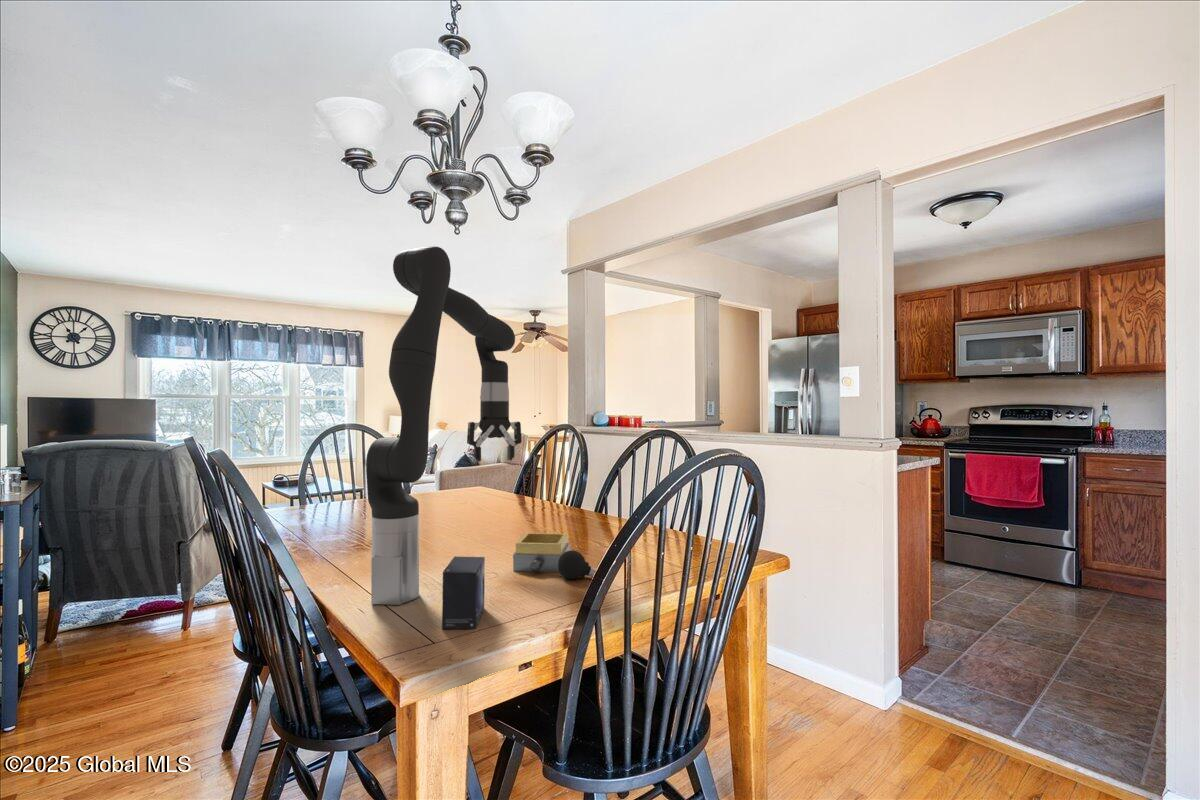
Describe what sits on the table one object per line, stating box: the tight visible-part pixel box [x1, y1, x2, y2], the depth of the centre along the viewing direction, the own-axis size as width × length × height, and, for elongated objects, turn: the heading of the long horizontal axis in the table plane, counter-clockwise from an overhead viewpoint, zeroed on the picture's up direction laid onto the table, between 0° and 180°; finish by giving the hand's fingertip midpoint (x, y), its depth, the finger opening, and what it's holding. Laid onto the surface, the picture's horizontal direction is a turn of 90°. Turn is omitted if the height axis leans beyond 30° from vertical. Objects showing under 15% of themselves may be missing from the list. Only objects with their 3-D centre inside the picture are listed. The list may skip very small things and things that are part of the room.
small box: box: [441, 556, 486, 630], centre depth 108 cm, size 11×6×10 cm, turn 3°
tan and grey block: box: [512, 532, 571, 573], centre depth 142 cm, size 15×12×6 cm
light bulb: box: [558, 549, 597, 580], centre depth 132 cm, size 6×6×10 cm
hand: (494, 460), depth 153 cm, fingers open, 8 cm apart
